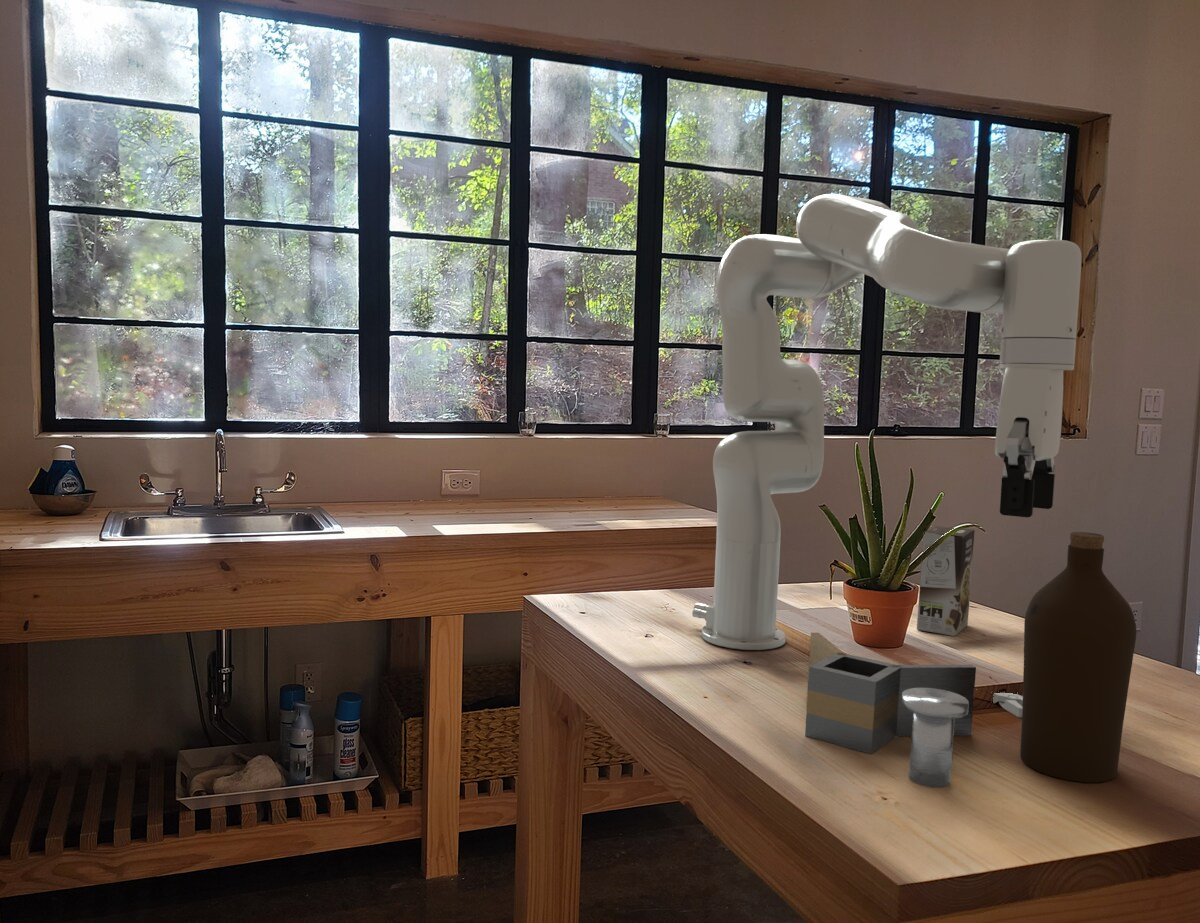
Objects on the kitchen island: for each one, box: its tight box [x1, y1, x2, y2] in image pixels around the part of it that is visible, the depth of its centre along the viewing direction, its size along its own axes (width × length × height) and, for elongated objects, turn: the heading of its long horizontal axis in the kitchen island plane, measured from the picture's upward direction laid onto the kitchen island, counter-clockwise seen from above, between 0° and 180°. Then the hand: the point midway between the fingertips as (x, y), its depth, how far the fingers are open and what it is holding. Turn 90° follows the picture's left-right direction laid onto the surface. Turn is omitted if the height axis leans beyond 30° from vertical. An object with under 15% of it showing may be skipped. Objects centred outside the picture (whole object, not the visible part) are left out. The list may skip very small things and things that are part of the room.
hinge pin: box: [901, 688, 969, 788], centre depth 101 cm, size 6×6×8 cm
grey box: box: [804, 632, 977, 755], centre depth 115 cm, size 20×14×8 cm
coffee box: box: [916, 526, 976, 637], centre depth 161 cm, size 9×6×16 cm
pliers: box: [992, 692, 1023, 719], centre depth 128 cm, size 10×2×15 cm
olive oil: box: [1019, 531, 1137, 783], centre depth 105 cm, size 11×11×25 cm
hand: (1026, 511), depth 110 cm, fingers open, 9 cm apart
